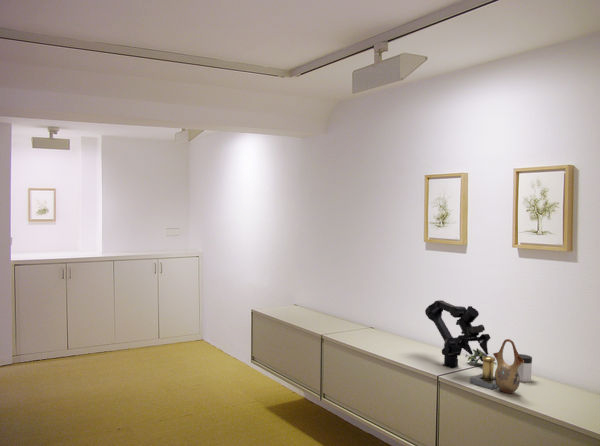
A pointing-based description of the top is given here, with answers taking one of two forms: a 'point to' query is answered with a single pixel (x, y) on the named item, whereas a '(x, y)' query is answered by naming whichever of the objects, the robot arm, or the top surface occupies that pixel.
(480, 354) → the passion flower
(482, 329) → the robot arm
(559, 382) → the top surface
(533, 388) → the top surface
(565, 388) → the top surface
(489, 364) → the brass goblet
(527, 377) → the jar
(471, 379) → the grey square flat frame
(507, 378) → the ceramic vessel
